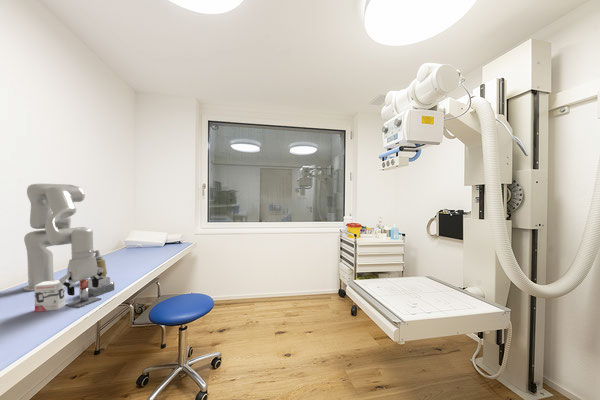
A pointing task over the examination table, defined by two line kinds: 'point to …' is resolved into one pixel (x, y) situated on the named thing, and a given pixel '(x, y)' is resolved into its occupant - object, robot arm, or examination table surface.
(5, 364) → the examination table surface
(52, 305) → the ink box
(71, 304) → the mat
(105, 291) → the block
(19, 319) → the examination table surface
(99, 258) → the squeeze bottle
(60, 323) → the examination table surface
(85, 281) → the peg
